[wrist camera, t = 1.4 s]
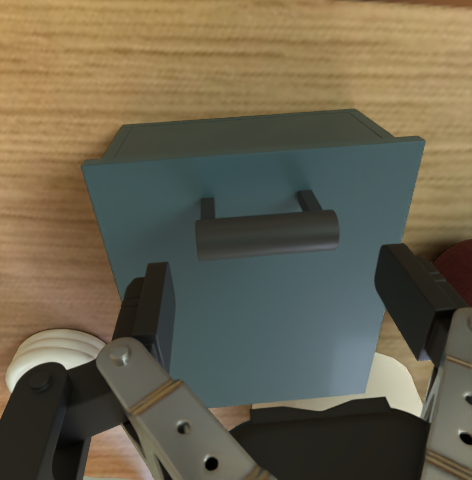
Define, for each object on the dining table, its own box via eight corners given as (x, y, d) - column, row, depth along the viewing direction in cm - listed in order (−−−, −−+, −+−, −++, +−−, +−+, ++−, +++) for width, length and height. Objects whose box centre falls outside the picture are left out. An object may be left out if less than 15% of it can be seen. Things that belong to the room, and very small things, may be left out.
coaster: (137, 369, 40) (132, 398, 37) (65, 398, 42) (54, 429, 39) (76, 312, 35) (64, 340, 32) (-4, 349, 37) (-22, 379, 34)
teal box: (122, 124, 26) (89, 174, 18) (355, 108, 26) (414, 150, 19) (165, 322, 36) (156, 403, 29) (330, 308, 37) (361, 384, 30)
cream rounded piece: (447, 362, 43) (577, 555, 28) (359, 451, 54) (419, 628, 38) (293, 330, 38) (351, 544, 23) (228, 435, 49) (239, 631, 34)
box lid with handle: (84, 159, 18) (46, 209, 14) (418, 135, 18) (482, 175, 14) (156, 404, 29) (147, 473, 25) (361, 384, 30) (387, 449, 25)
